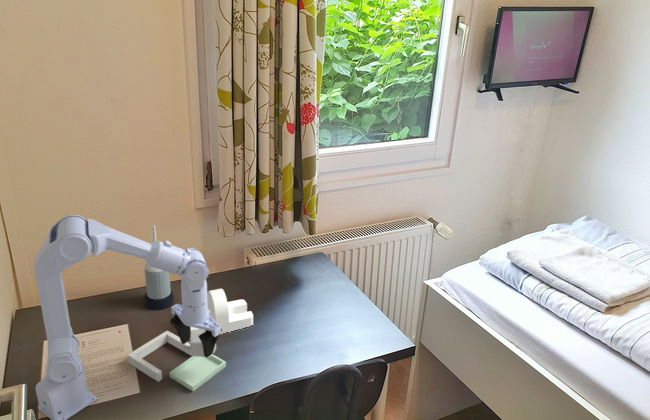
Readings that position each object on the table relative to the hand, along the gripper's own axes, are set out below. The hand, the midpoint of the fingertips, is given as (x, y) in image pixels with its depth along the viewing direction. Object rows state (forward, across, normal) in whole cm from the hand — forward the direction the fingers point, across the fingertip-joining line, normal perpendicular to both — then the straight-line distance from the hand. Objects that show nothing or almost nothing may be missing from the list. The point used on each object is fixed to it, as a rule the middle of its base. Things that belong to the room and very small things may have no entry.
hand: (197, 348), depth 124 cm
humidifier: (+7, +31, -14) cm, 35 cm away
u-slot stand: (+8, +10, -17) cm, 21 cm away
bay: (+7, +10, +2) cm, 13 cm away
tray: (+7, 0, 0) cm, 7 cm away
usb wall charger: (+2, 0, -1) cm, 2 cm away
